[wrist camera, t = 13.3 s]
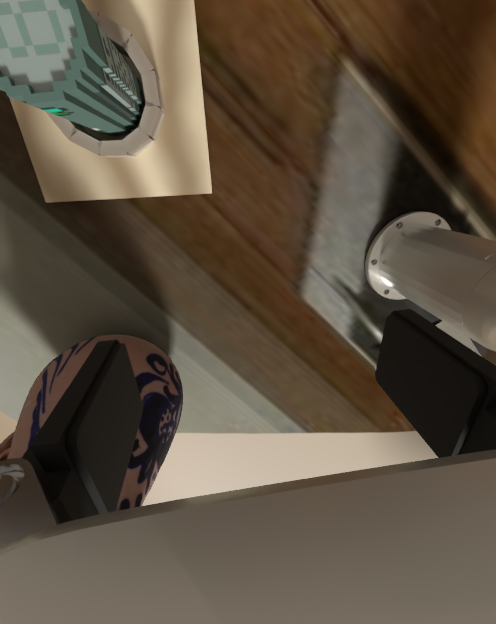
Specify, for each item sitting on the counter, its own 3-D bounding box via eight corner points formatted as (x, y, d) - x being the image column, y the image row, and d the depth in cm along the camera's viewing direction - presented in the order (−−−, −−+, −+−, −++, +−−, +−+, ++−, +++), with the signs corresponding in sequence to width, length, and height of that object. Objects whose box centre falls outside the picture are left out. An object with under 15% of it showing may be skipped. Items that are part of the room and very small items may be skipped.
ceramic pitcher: (201, 391, 47) (195, 590, 24) (79, 426, 46) (-37, 657, 24) (160, 300, 38) (96, 473, 16) (13, 342, 38) (-252, 573, 16)
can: (66, 61, 25) (-89, -62, 12) (133, 54, 26) (55, -72, 12) (91, 139, 28) (-13, 108, 15) (151, 131, 29) (103, 95, 15)
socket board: (191, -24, 25) (188, -62, 21) (211, 192, 33) (212, 195, 29) (-25, -28, 23) (-73, -69, 19) (52, 201, 32) (30, 205, 28)
